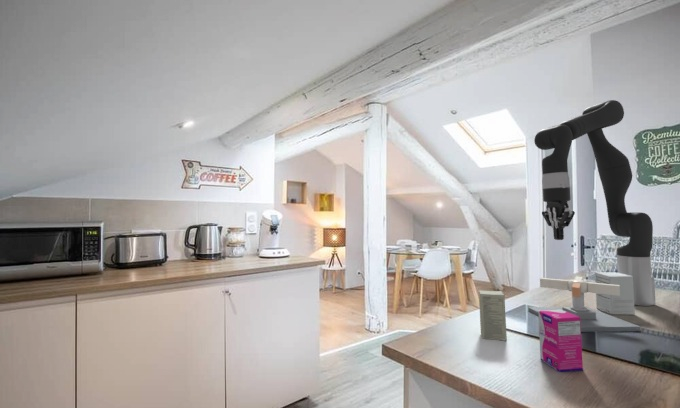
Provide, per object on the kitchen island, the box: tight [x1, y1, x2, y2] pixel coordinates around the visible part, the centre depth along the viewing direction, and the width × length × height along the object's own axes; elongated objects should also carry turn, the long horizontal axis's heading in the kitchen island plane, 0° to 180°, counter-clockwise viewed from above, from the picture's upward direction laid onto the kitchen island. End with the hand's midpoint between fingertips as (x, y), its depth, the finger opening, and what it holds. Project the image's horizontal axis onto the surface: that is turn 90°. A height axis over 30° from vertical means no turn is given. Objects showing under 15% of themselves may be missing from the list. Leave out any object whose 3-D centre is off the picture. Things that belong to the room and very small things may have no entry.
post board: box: [527, 293, 642, 333], centre depth 101 cm, size 20×20×9 cm
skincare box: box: [478, 289, 508, 341], centre depth 88 cm, size 6×4×12 cm
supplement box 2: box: [594, 271, 636, 316], centre depth 109 cm, size 7×7×13 cm
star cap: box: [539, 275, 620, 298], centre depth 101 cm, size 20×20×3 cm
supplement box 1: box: [538, 309, 584, 373], centre depth 71 cm, size 6×6×12 cm
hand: (558, 239), depth 106 cm, fingers closed
